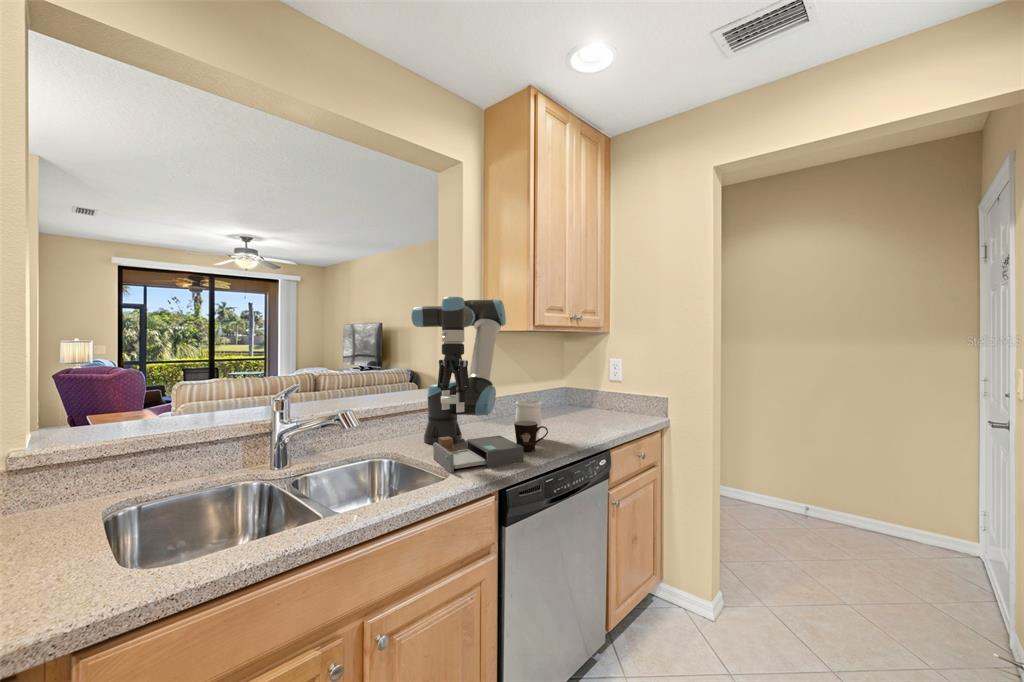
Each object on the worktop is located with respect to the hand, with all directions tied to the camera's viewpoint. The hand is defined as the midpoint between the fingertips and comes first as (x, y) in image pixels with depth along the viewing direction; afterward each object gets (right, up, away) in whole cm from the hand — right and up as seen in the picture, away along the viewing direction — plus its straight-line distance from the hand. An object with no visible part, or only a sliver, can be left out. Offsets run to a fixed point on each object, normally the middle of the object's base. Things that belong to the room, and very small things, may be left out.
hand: (452, 410), depth 151 cm
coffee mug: (+26, -17, +13) cm, 34 cm away
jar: (+27, -16, +30) cm, 43 cm away
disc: (0, +3, 0) cm, 3 cm away
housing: (+14, -17, +4) cm, 22 cm away
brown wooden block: (-3, -17, +8) cm, 19 cm away
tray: (+2, -17, -2) cm, 17 cm away
